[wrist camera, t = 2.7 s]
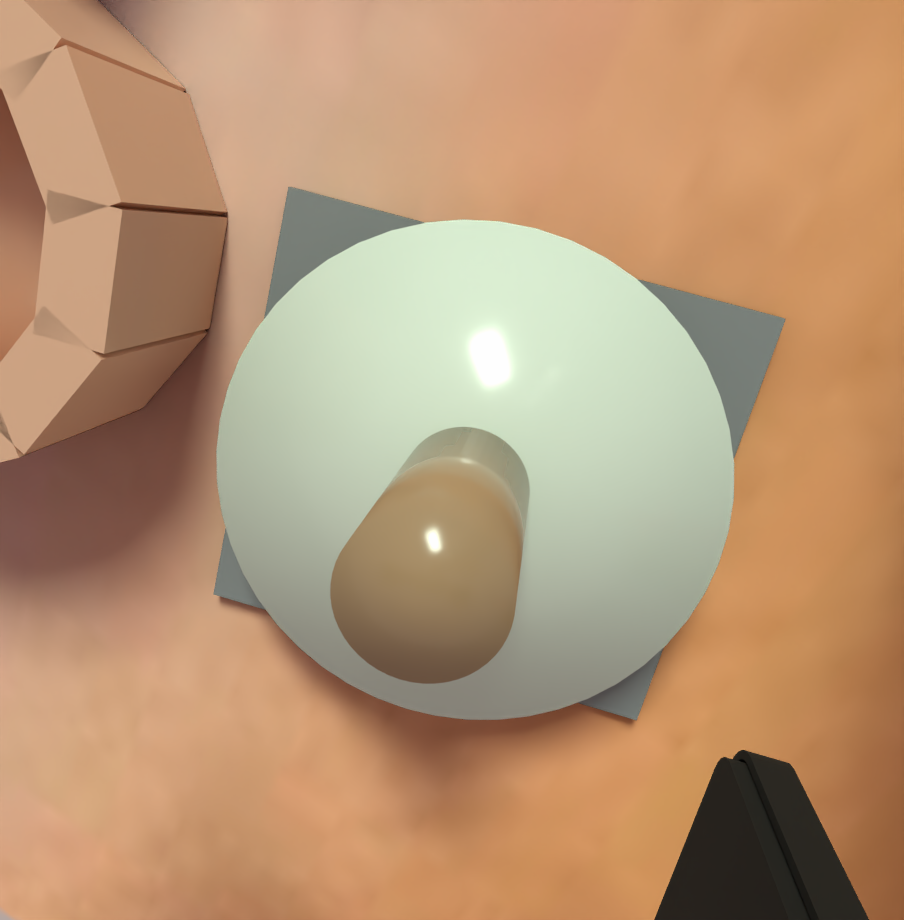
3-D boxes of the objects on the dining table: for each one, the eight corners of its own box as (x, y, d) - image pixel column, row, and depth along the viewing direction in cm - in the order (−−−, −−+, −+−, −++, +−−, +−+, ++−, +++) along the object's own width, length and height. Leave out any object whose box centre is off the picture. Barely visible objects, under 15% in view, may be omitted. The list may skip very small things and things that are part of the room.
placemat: (781, 317, 19) (785, 319, 18) (635, 712, 22) (636, 720, 22) (293, 188, 20) (288, 186, 19) (219, 588, 23) (213, 594, 22)
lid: (793, 298, 18) (954, 334, 11) (630, 736, 22) (666, 994, 14) (293, 164, 19) (119, 112, 12) (210, 609, 22) (33, 792, 15)
